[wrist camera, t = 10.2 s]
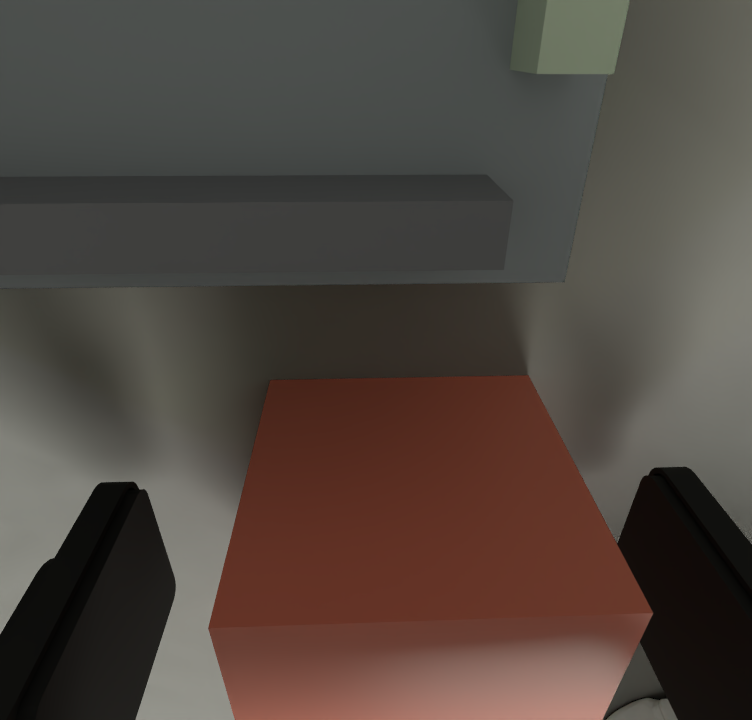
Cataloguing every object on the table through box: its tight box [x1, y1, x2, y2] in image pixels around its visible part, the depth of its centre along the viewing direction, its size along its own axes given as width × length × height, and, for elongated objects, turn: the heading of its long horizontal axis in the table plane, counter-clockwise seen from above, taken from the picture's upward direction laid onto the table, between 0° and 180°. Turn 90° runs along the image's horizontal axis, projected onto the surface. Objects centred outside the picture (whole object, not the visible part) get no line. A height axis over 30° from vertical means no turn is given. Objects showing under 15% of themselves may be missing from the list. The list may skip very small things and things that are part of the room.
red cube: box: [208, 375, 653, 720], centre depth 9 cm, size 5×5×5 cm
